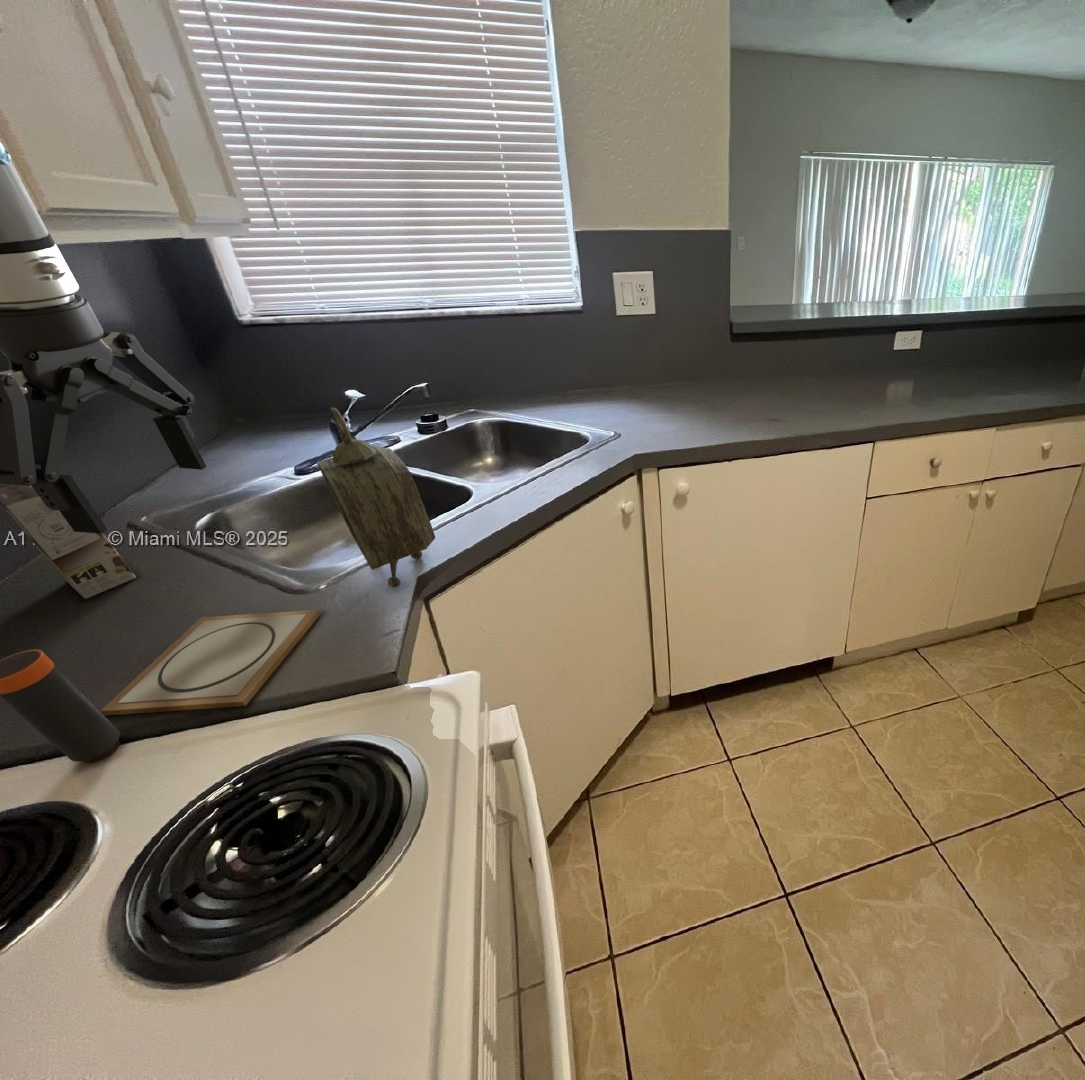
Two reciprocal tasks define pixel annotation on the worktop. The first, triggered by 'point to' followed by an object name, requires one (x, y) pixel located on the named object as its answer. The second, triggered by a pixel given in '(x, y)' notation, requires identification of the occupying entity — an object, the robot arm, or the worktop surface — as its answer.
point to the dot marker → (56, 707)
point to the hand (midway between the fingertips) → (146, 496)
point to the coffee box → (66, 543)
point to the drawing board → (215, 663)
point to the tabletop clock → (377, 501)
